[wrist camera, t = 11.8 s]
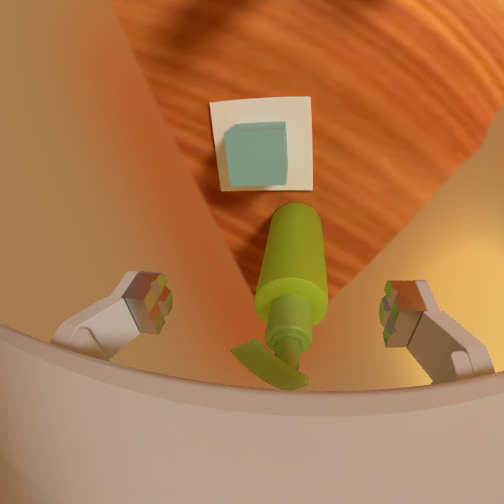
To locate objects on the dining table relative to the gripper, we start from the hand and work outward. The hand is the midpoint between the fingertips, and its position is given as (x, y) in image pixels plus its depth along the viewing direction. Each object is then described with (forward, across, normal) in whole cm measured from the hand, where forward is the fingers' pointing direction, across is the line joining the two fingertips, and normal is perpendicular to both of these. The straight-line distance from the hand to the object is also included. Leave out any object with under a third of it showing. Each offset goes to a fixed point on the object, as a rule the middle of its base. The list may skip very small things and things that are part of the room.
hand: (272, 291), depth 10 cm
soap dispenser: (+22, 0, +9) cm, 24 cm away
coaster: (+22, +3, 0) cm, 22 cm away
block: (+21, +3, 0) cm, 21 cm away
